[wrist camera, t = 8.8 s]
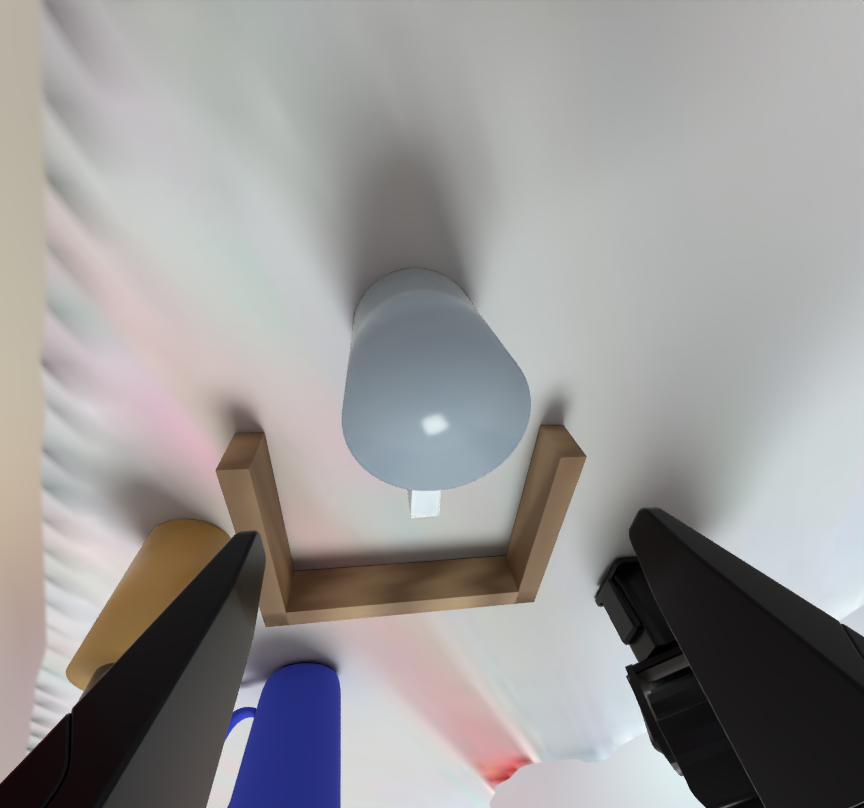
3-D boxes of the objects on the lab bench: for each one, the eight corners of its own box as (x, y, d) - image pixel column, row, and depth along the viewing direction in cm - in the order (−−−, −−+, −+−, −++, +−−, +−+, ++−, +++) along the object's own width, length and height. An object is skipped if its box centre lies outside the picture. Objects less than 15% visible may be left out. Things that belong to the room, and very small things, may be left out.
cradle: (563, 425, 23) (586, 456, 20) (520, 566, 30) (534, 602, 28) (235, 433, 20) (215, 470, 18) (275, 585, 28) (265, 627, 25)
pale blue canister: (481, 270, 17) (549, 333, 11) (461, 423, 22) (500, 535, 15) (350, 265, 17) (334, 330, 10) (357, 426, 21) (350, 546, 14)
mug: (199, 676, 33) (139, 848, 25) (332, 645, 33) (317, 806, 25) (241, 710, 38) (203, 866, 29) (358, 683, 38) (354, 831, 29)
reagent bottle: (223, 516, 23) (148, 690, 16) (240, 566, 26) (182, 735, 18) (136, 521, 23) (12, 705, 15) (162, 571, 25) (67, 750, 18)
